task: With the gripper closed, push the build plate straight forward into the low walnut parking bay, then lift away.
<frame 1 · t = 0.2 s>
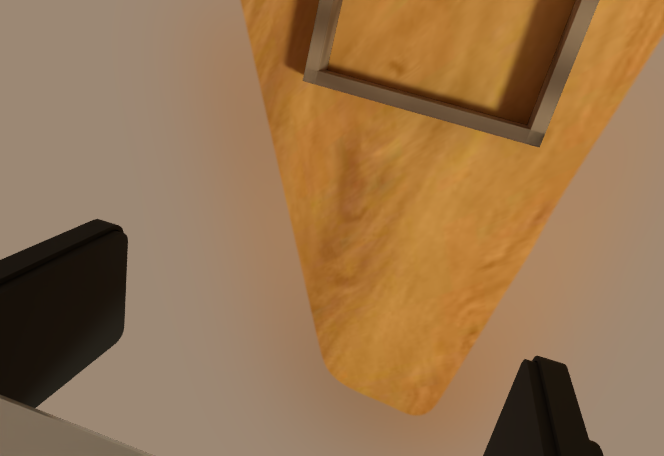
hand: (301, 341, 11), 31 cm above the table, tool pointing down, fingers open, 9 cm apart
parking bay: (441, 36, 36), on the table
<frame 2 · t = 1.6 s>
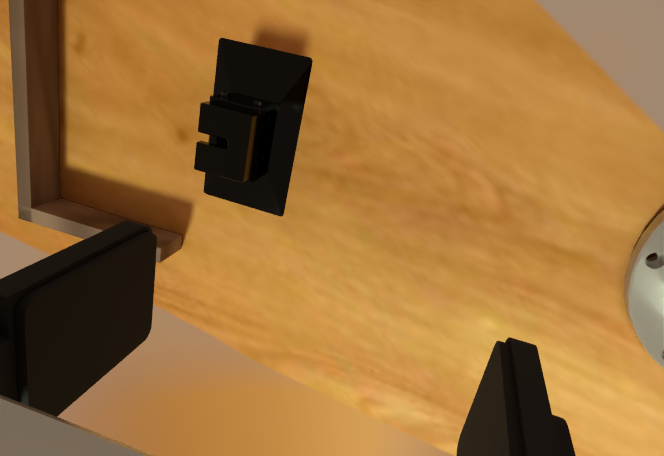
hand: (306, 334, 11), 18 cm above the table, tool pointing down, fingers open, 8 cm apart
parking bay: (120, 97, 31), on the table
build plate: (257, 130, 30), on the table
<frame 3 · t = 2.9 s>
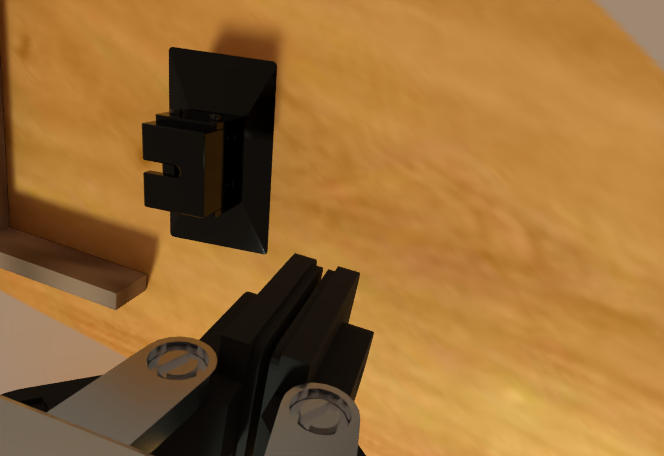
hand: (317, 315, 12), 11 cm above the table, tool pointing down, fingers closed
parking bay: (71, 111, 26), on the table
build plate: (227, 152, 25), on the table
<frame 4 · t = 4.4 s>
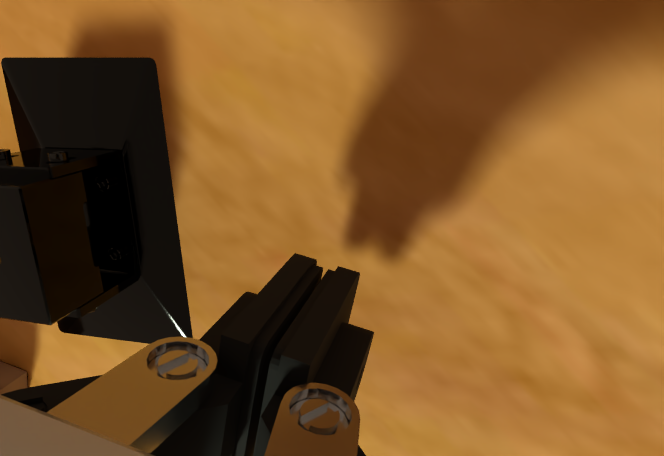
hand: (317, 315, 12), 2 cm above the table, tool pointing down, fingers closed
build plate: (116, 204, 17), on the table
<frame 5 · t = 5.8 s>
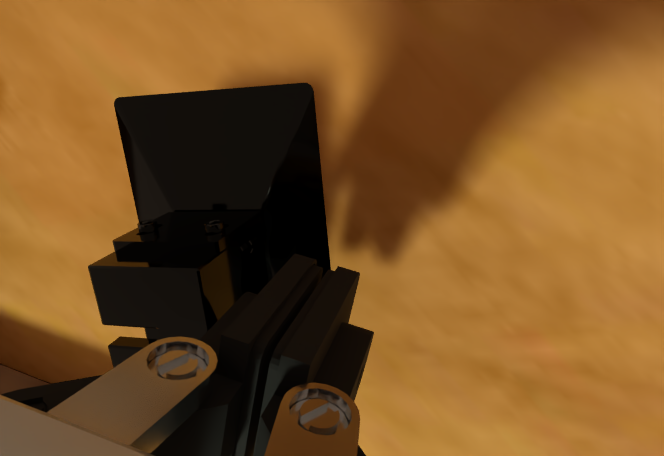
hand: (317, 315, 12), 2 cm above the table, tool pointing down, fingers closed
parking bay: (74, 198, 16), on the table
build plate: (243, 262, 16), on the table
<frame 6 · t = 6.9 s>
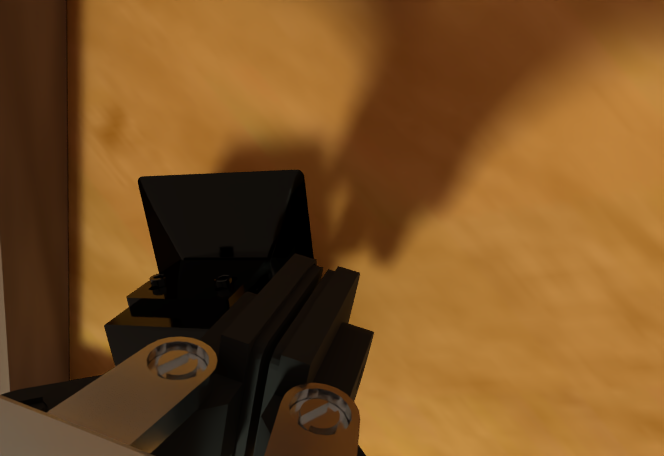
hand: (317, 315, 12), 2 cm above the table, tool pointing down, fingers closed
parking bay: (193, 235, 15), on the table
build plate: (251, 303, 16), on the table
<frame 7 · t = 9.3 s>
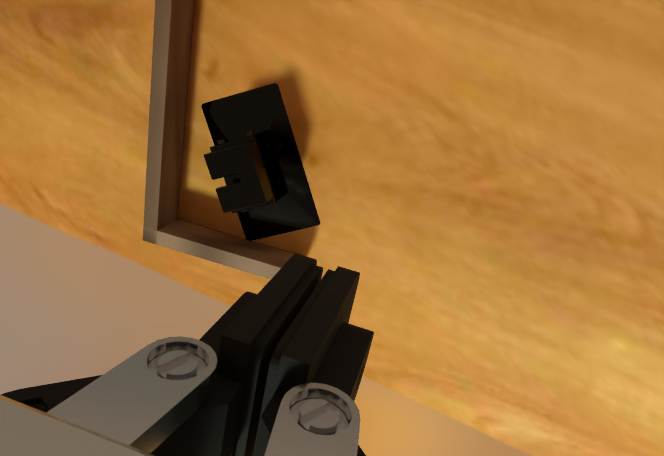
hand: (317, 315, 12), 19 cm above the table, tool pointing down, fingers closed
parking bay: (250, 122, 31), on the table
build plate: (265, 162, 33), on the table
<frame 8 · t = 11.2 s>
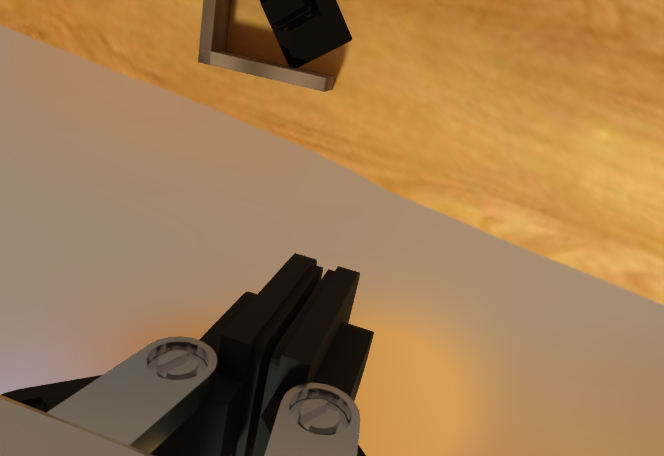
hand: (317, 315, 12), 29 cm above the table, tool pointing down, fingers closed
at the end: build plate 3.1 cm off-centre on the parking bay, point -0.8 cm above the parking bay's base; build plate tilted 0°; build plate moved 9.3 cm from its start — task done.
